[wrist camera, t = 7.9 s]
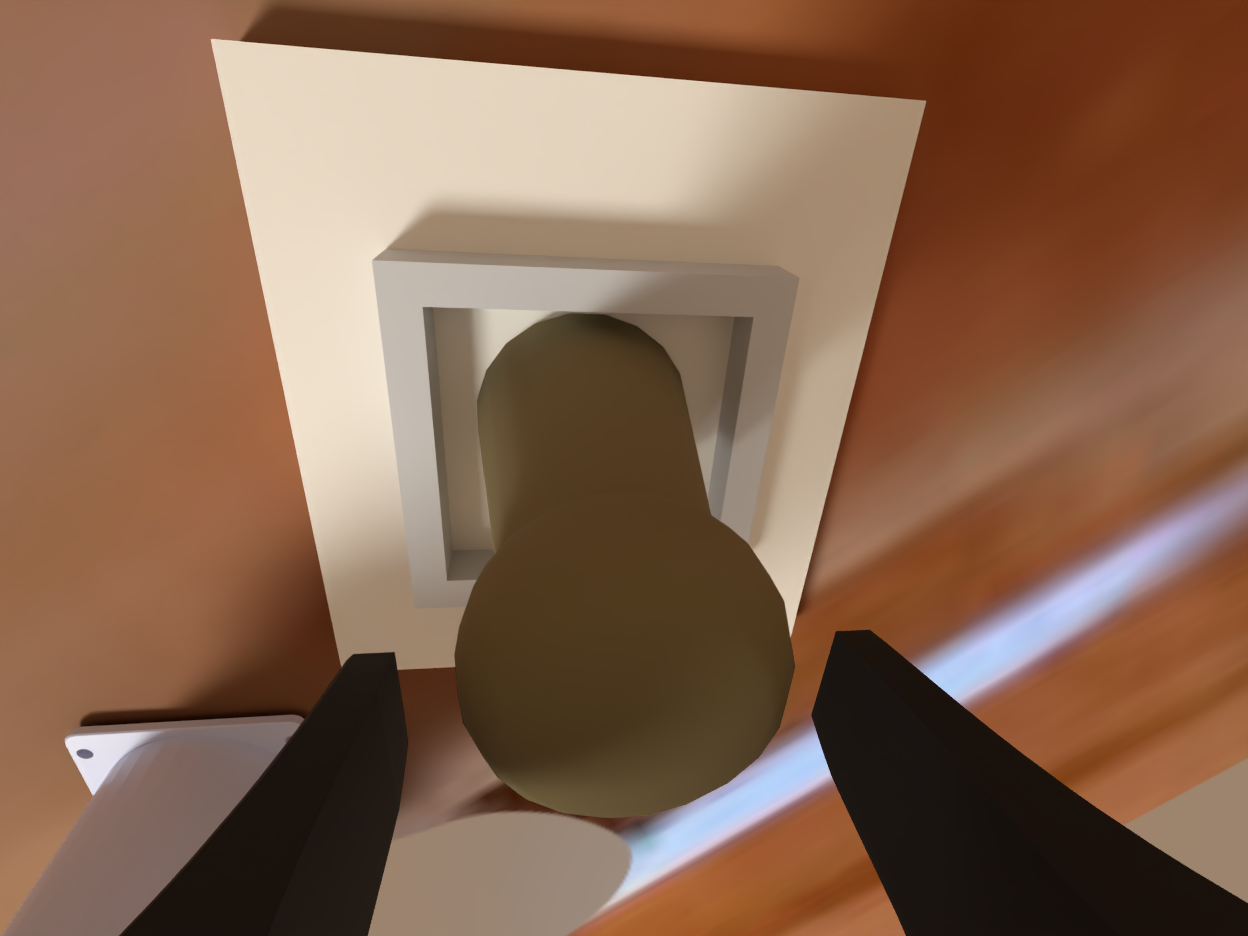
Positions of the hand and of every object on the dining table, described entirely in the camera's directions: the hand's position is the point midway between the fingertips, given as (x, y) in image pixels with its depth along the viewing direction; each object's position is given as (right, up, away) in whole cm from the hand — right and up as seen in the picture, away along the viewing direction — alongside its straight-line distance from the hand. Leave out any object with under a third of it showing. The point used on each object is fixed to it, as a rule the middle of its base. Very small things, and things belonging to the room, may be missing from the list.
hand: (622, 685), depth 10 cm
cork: (-1, +5, +8) cm, 9 cm away
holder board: (-1, +5, +9) cm, 10 cm away
